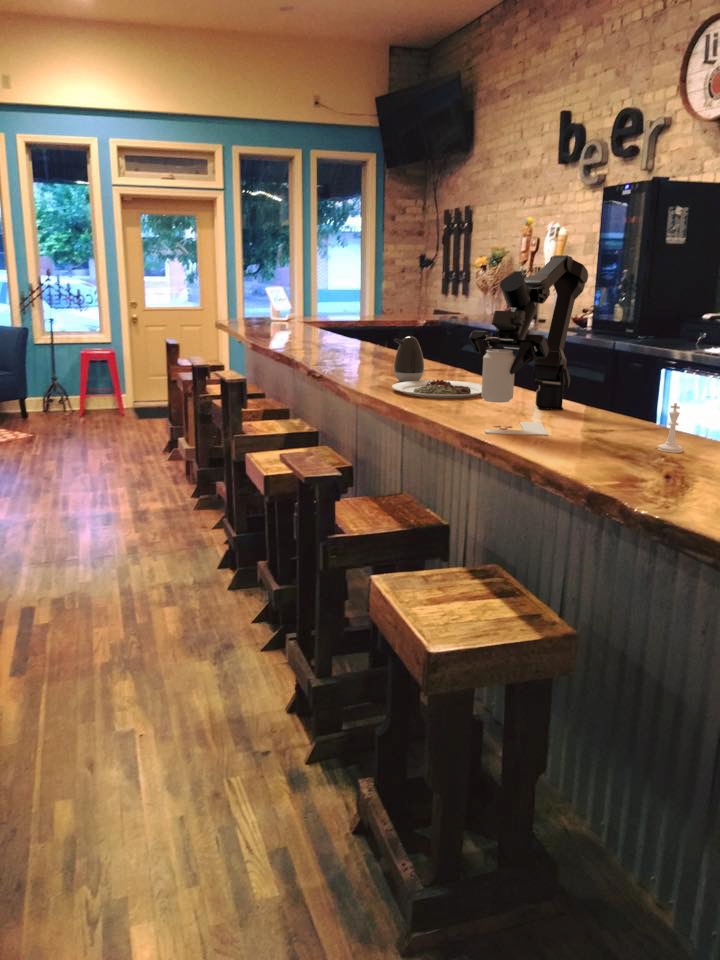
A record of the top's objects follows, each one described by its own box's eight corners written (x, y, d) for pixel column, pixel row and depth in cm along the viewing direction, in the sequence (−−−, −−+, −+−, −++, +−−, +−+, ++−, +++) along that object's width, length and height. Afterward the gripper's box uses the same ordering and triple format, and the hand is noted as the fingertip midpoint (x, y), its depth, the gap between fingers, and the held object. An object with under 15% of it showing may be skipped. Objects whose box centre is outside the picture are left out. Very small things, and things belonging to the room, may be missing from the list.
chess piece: (662, 446, 167) (667, 400, 164) (685, 449, 164) (691, 403, 161) (654, 450, 163) (659, 403, 160) (678, 453, 160) (684, 406, 157)
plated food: (418, 403, 220) (418, 391, 219) (376, 388, 247) (376, 377, 246) (508, 398, 231) (509, 386, 230) (459, 384, 258) (459, 374, 257)
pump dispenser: (389, 379, 264) (390, 334, 260) (419, 379, 266) (420, 334, 262) (396, 384, 254) (397, 337, 250) (427, 383, 256) (428, 337, 252)
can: (502, 404, 180) (505, 352, 176) (475, 400, 184) (477, 349, 181) (518, 400, 185) (521, 349, 182) (491, 396, 190) (494, 347, 187)
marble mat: (540, 424, 190) (540, 422, 190) (547, 435, 176) (547, 434, 176) (482, 422, 191) (482, 420, 191) (485, 433, 178) (485, 432, 178)
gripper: (474, 296, 187) (449, 346, 181) (547, 298, 176) (524, 352, 171) (487, 327, 195) (464, 376, 189) (558, 331, 184) (536, 383, 179)
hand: (495, 371), depth 182 cm, fingers closed on can, 7 cm apart
